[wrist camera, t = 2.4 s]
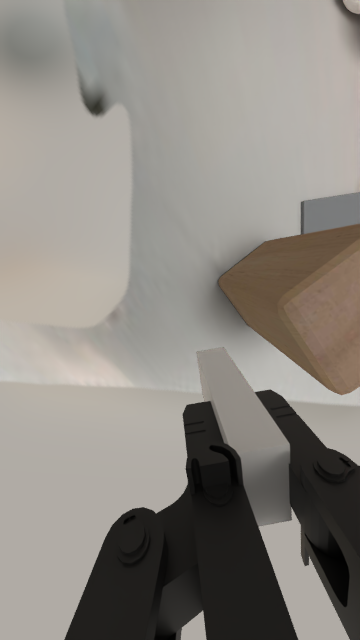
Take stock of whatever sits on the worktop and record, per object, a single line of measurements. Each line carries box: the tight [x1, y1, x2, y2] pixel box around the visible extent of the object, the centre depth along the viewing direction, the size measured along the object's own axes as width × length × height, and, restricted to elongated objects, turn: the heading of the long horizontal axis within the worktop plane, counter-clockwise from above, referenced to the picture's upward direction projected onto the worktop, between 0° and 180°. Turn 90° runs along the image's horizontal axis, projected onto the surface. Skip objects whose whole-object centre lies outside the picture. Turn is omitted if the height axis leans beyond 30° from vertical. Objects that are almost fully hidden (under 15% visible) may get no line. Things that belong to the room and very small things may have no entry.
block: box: [218, 224, 360, 395], centre depth 25 cm, size 10×10×20 cm
